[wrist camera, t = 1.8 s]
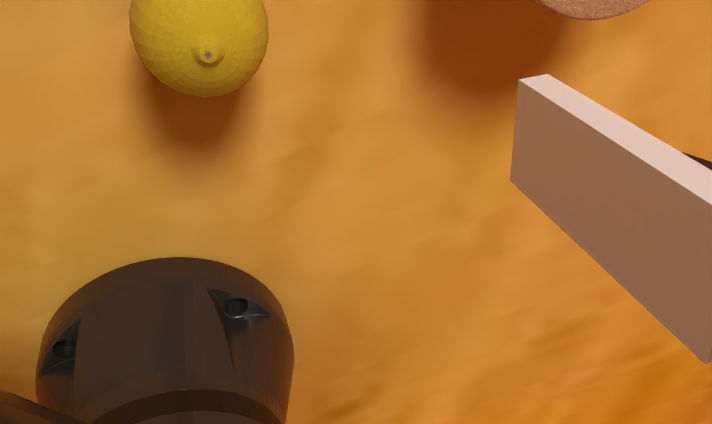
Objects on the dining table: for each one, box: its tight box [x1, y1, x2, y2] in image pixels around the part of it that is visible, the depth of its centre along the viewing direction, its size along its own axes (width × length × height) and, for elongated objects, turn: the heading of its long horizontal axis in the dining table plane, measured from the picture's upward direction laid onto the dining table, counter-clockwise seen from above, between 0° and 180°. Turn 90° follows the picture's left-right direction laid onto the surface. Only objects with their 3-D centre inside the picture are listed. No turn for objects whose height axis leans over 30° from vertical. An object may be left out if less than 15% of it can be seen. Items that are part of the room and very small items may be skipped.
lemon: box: [129, 0, 269, 98], centre depth 25 cm, size 6×6×8 cm
